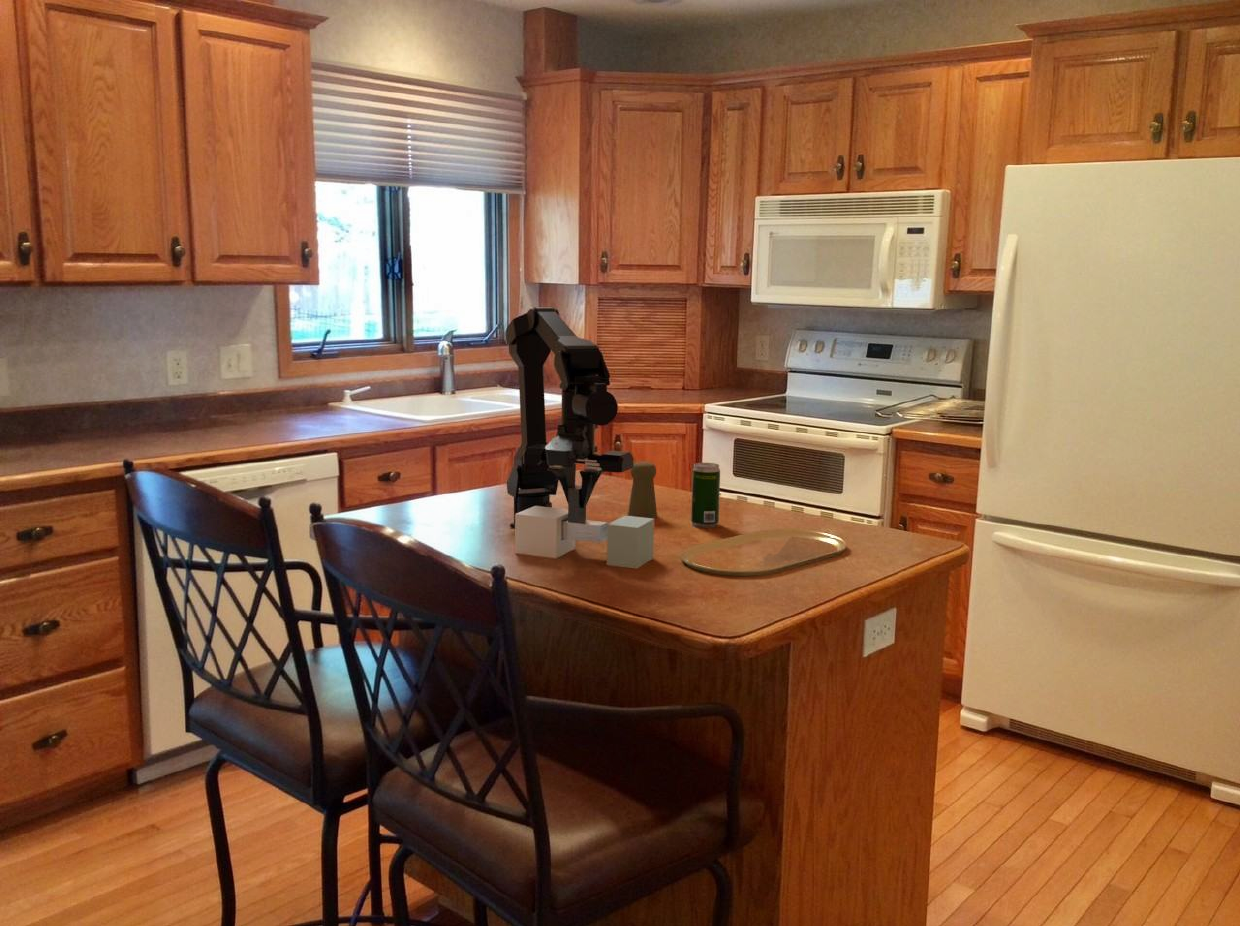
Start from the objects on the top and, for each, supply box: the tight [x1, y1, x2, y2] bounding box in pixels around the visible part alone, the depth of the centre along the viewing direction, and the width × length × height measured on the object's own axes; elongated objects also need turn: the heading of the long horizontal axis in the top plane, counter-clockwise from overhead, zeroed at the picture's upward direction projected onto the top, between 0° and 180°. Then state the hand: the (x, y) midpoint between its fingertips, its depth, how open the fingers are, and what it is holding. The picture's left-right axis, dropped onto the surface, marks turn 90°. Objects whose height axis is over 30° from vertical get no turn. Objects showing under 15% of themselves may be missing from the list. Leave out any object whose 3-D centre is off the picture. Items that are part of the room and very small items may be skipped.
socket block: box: [606, 515, 655, 569], centre depth 184 cm, size 6×8×7 cm
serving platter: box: [680, 528, 848, 577], centre depth 191 cm, size 19×35×2 cm, turn 133°
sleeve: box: [514, 506, 576, 559], centre depth 191 cm, size 8×8×7 cm
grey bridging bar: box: [561, 484, 608, 544], centre depth 188 cm, size 15×3×9 cm, turn 67°
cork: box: [627, 461, 658, 519], centre depth 219 cm, size 6×6×11 cm
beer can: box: [690, 462, 721, 529], centre depth 212 cm, size 5×5×12 cm
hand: (577, 507), depth 187 cm, fingers closed on grey bridging bar, 2 cm apart
